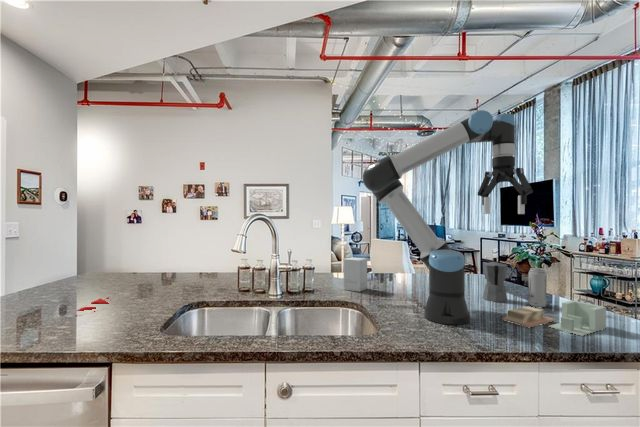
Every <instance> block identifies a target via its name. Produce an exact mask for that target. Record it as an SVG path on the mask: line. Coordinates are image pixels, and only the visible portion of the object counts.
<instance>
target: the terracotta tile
mask: <svg viewBox="0 0 640 427" xmlns="http://www.w3.org/2000/svg"><path fill="white" fill-rule="evenodd" d="M503 320H506V321H510V322H513V323H517V324H520V325H523V326H527V327H533V326H536V327H538V326H537V325H540V324H544V323H548V322H552V321H554V322H555V320H554V318H550V317H547V316H545V315H543V319H539V320H535V321H531V322H527V323H524V324H522V323H518V322H515V321H511V320H508V316H504V317H502V321H503ZM506 321H505V322H506ZM513 323H512V324H513ZM552 323H553V322H552ZM548 324H549V323H548ZM544 325H545V324H544ZM523 326H522V327H523ZM540 326H541V325H540ZM533 328H534V327H533Z"/></svg>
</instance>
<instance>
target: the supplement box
mask: <svg viewBox="0 0 640 427" xmlns="http://www.w3.org/2000/svg"><path fill="white" fill-rule="evenodd" d="M367 289H368V258H367V257H365V258H364V257H355V256H354V257H352V256H351V257H347V258H343V290H344V291H350V292H351V291H352V292H359V293H360V292H362V291H364V290H367Z"/></svg>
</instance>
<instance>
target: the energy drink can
mask: <svg viewBox="0 0 640 427" xmlns="http://www.w3.org/2000/svg"><path fill="white" fill-rule="evenodd" d="M527 295H528V298H527V299H528V304H529V306H530V305H531V306H534V308H535V307H545V308H546V306H547V272H546V269H545V268H542V267H530V268H529V271H528V294H527ZM531 306H530V307H531Z"/></svg>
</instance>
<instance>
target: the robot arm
mask: <svg viewBox="0 0 640 427" xmlns="http://www.w3.org/2000/svg"><path fill="white" fill-rule="evenodd" d="M515 121H516V120H515V116H514V114H512V113H500V114H495V115H494V116H493V115H492V114H491V113H490V112H489V111H488V110H484V109H483V110H482V109H481V110H476V111H475V112H472V114H471V115H470V116H469V117H467V118H465V119H463V120H462V121H459V122H456V123H455V124H453V125H451V126H449V127H447V128H446V129H444V130H442V131H440V132H437V133H436V134H434V135H432V136H430V137H428V138H426V139H424V140H422V141H420V142H419V143H418V142H417V143H416V144H415V145H412V146H410V147H408V148H407V149H404V150H403V151H400V152H398V153H396V154H395V155H392V154H388V155H386V156H384V157H383V158H380V159H378V160H376V161H374V162H372V163H370V164H369V165H368V166H366V167H365V169H364V171H363V172H362V182H363V185H364V186H365V188H366V189H367V190H368V191H370V192H371V194H373V195H374V197H375V198H376V199H377V201H378V203H380V204H385V206H386V207H387V208H388V210H389V211H390V212H391V214H392V215H393V216H394V218H395V219H396V220H397V221H398V223H399V224H400V226H401V227H402V228H403V230H404V231H405V233H406V234H407V235H408V237H409V238H410V239H411V241H412V242H413V244H414V245H415V247H417V249H418V250H419V253H420V256H419V257H420V258H419V259H420V260H421V261H422V262H423V263H424V266H425V267H426V268H427V269H428V274H429V275H428V278H429V280H428V281H429V282H428V286H429V287H428V289H429V290H428V291H429V292H428V294H429V295H428V298H427V299H426V304H425V307H424V309H423V317H424V318H425V319H426V320H429V321H430V322H434V323H438V324H444V325H465V324H467V323H469V322H470V321H471V314H470V312H469V308H468V304H467V302H466V299H465V265H466V261H465V256H464V254H463V253H462V252H460V251H458V250H453V249H452V248H451V247H450V246H449V244H448V243H447V242H446V241H445V240H440V239H439V238H438V236H437V235H436V234H435V232H434V231H433V229H431V227H430V226H429V225H428V223H427V222H426V221H425V219H424V217H423V216H422V215H421V213H420V212H419V211H418V209H417V208H416V207H415V206H414V204H413V203H412V201H411V200H410V199H409V198H408V196H407V195H406V194H405V192H404V185H403V183H402V181H400V179H402V177H403V176H404V174H406V173H408V172H410V171H412V170H414V169H416V168H418V167H421V166H422V165H424V164H427V163H428V162H431V161H432V160H434V159H437V158H438V157H441V156H443V155H444V154H446V153H448V152H451V151H452V150H455V149H456V148H458V147H460V146H462V145H464V144H475V143H491V156H492V159H491V168H492V171H488V170H487V171H485V172H484V177H483V179H482V182H481V184H480V187H479V189H478V191H477V196H480V197H481V205H482V206H483V214H484V215H491V197H490V196H489V195H490V194H492V192H493V191H494V189H495V188H496V186H497V185H498V184H499V183H504V182H506V183H508V182H509V183H510V184H511V185H512V186H513V188H514V189H515V190H516V192H517V193H518V194H519V195H518V196H517V214H518V215H525V213H526V211H525V209H526V208H525V207H526V206H525V205H527V203H528V198H527V197H528V195H530V194H533V193H534V190H533V189H532V187H531V184H530V182H529V180H528V179H527V177H526V175H525V171H524V168H523V167H516V157H515V155H516V143H515V142H516V122H515ZM515 167H516V168H515ZM514 175H516V176H517V178H516V177H515V176H514ZM517 179H518V180H517Z"/></svg>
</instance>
